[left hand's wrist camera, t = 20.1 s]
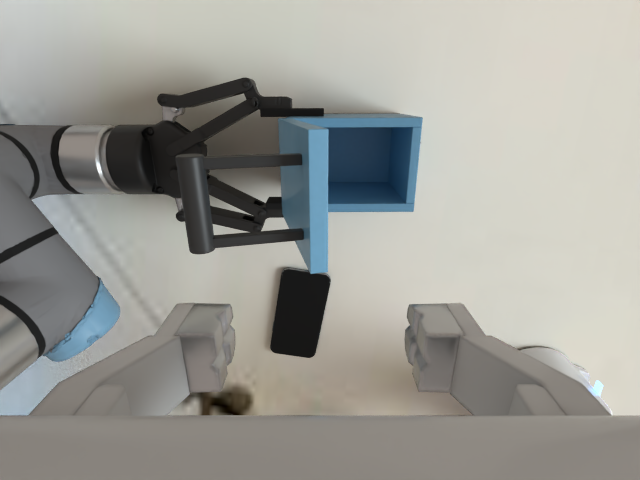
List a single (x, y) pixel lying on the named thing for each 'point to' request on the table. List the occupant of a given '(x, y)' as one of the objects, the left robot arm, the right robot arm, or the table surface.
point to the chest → (371, 160)
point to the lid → (296, 188)
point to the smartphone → (299, 312)
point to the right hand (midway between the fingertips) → (323, 159)
